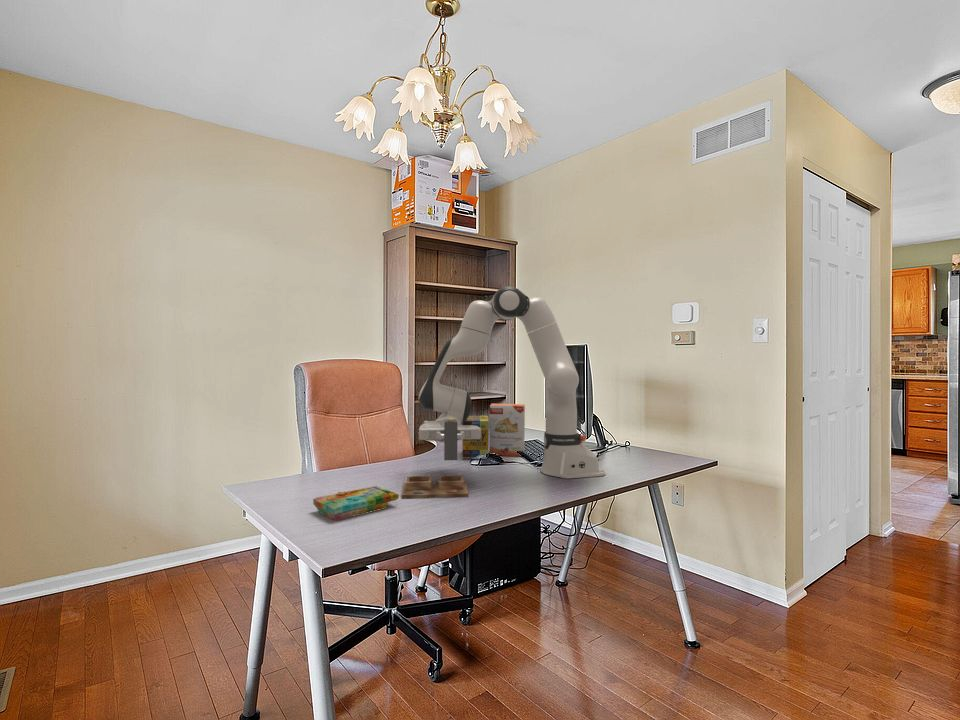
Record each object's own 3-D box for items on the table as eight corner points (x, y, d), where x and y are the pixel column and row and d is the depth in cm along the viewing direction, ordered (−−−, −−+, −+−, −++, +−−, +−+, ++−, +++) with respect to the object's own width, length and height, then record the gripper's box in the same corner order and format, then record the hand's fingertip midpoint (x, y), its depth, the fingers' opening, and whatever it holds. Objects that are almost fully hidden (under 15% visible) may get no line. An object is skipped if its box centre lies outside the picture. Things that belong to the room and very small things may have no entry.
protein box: (462, 459, 211) (462, 420, 210) (463, 451, 226) (463, 415, 226) (488, 459, 211) (488, 420, 210) (487, 451, 226) (487, 415, 226)
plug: (456, 457, 171) (456, 417, 171) (457, 460, 167) (457, 419, 167) (444, 457, 171) (444, 417, 170) (444, 460, 167) (444, 419, 166)
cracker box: (489, 455, 218) (489, 404, 217) (491, 452, 224) (491, 402, 223) (523, 457, 216) (523, 405, 215) (524, 454, 222) (525, 403, 221)
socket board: (465, 484, 175) (465, 473, 175) (468, 496, 161) (468, 485, 161) (403, 485, 173) (403, 474, 173) (401, 498, 159) (401, 486, 159)
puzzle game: (313, 496, 147) (376, 482, 160) (313, 513, 147) (376, 498, 161) (333, 505, 138) (398, 491, 152) (333, 523, 138) (398, 507, 152)
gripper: (479, 438, 183) (483, 446, 169) (419, 439, 181) (418, 447, 167) (479, 420, 182) (483, 426, 169) (419, 420, 180) (418, 427, 167)
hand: (450, 437), depth 168 cm, fingers closed on plug, 4 cm apart
